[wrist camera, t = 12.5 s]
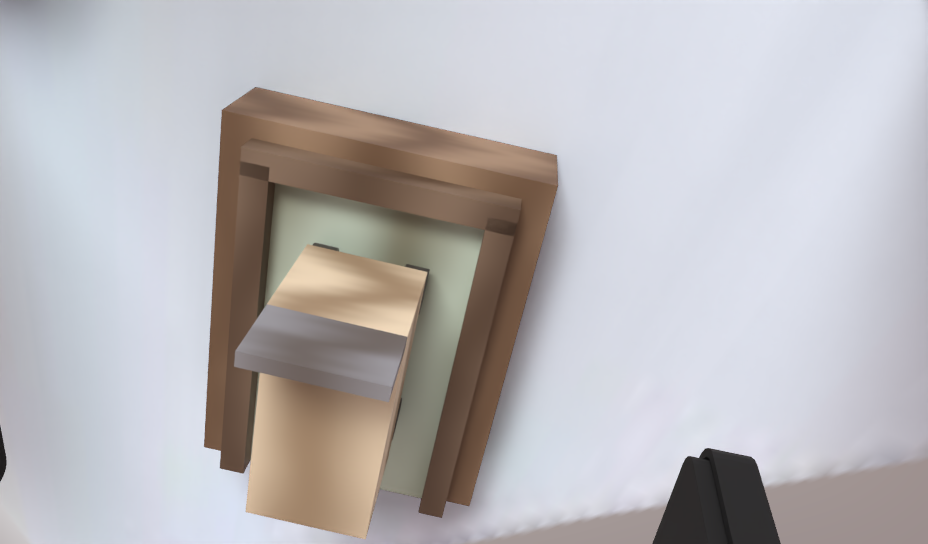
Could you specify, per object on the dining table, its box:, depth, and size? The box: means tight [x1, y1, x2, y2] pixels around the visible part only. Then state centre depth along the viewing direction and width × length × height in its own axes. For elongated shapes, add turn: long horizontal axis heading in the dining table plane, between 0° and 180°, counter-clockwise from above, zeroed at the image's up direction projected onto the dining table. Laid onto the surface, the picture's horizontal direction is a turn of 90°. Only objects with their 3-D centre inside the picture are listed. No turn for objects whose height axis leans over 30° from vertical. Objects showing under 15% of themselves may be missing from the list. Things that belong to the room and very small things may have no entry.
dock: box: [204, 87, 558, 518], centre depth 36 cm, size 14×18×5 cm
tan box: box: [234, 243, 430, 539], centre depth 30 cm, size 5×10×10 cm, turn 168°
